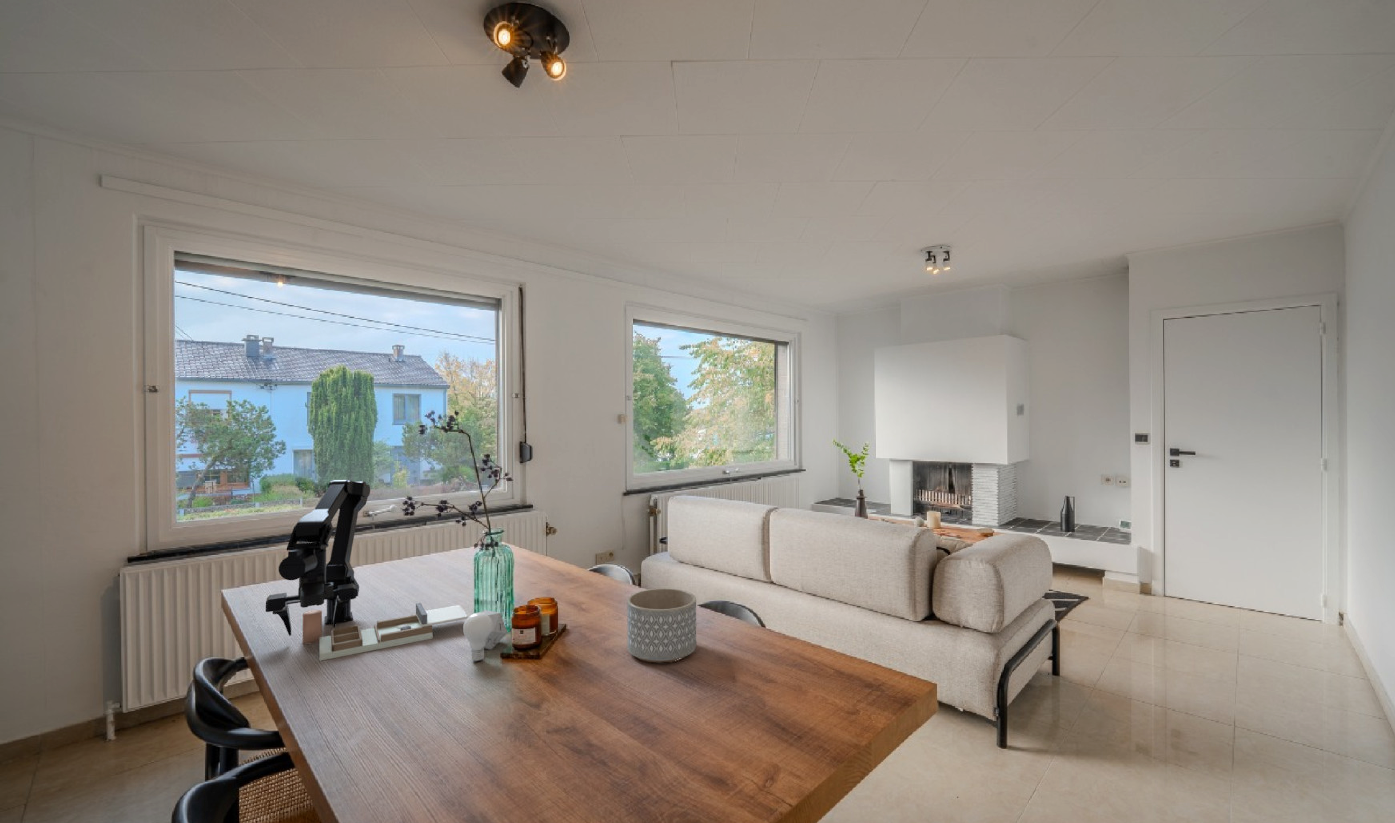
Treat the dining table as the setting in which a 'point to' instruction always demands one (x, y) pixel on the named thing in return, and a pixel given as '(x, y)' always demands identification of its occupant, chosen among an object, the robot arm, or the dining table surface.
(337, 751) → the dining table surface
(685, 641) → the planter
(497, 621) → the die
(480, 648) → the lightbulb
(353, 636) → the board
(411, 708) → the dining table surface
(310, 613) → the tan brown cylinder
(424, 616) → the lid
